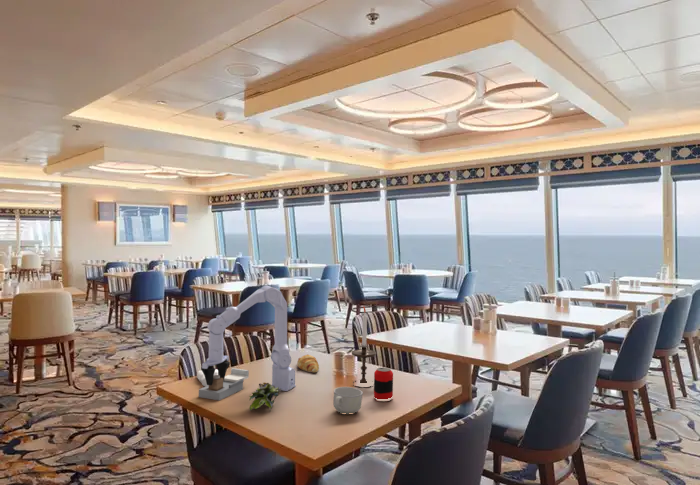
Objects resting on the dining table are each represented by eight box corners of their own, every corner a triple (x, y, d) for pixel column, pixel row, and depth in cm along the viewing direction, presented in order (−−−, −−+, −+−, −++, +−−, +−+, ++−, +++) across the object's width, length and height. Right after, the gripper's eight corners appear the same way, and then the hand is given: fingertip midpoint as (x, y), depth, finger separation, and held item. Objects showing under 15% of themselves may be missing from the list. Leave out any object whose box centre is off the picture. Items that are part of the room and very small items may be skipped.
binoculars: (201, 387, 207) (202, 376, 207) (194, 378, 221) (194, 367, 221) (226, 384, 212) (226, 374, 212) (217, 375, 226) (217, 365, 226)
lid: (248, 377, 210) (248, 370, 210) (237, 382, 203) (237, 375, 203) (232, 375, 213) (232, 368, 213) (221, 380, 206) (221, 372, 206)
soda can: (386, 395, 200) (387, 366, 200) (396, 400, 194) (396, 370, 194) (370, 397, 197) (371, 368, 197) (379, 403, 190) (380, 372, 190)
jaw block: (222, 395, 197) (223, 375, 197) (216, 398, 193) (217, 378, 193) (214, 393, 198) (215, 374, 198) (208, 396, 194) (208, 376, 194)
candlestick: (346, 383, 216) (347, 305, 216) (365, 379, 222) (366, 303, 222) (361, 389, 207) (362, 308, 207) (380, 385, 213) (382, 306, 213)
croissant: (321, 380, 232) (329, 365, 234) (304, 372, 228) (312, 357, 229) (304, 368, 250) (311, 354, 252) (288, 361, 246) (295, 347, 248)
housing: (243, 389, 205) (243, 379, 205) (219, 400, 190) (220, 389, 190) (222, 385, 209) (222, 376, 209) (197, 396, 194) (198, 386, 194)
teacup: (345, 405, 188) (346, 384, 188) (368, 411, 181) (368, 390, 181) (321, 414, 177) (321, 392, 177) (344, 422, 170) (344, 399, 170)
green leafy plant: (263, 419, 186) (276, 389, 192) (276, 422, 177) (291, 391, 183) (239, 406, 181) (254, 376, 187) (252, 409, 173) (267, 377, 178)
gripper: (219, 344, 204) (218, 376, 204) (196, 351, 190) (195, 386, 190) (233, 345, 201) (232, 378, 201) (210, 353, 188) (210, 388, 188)
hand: (215, 382), depth 196 cm, fingers open, 7 cm apart
